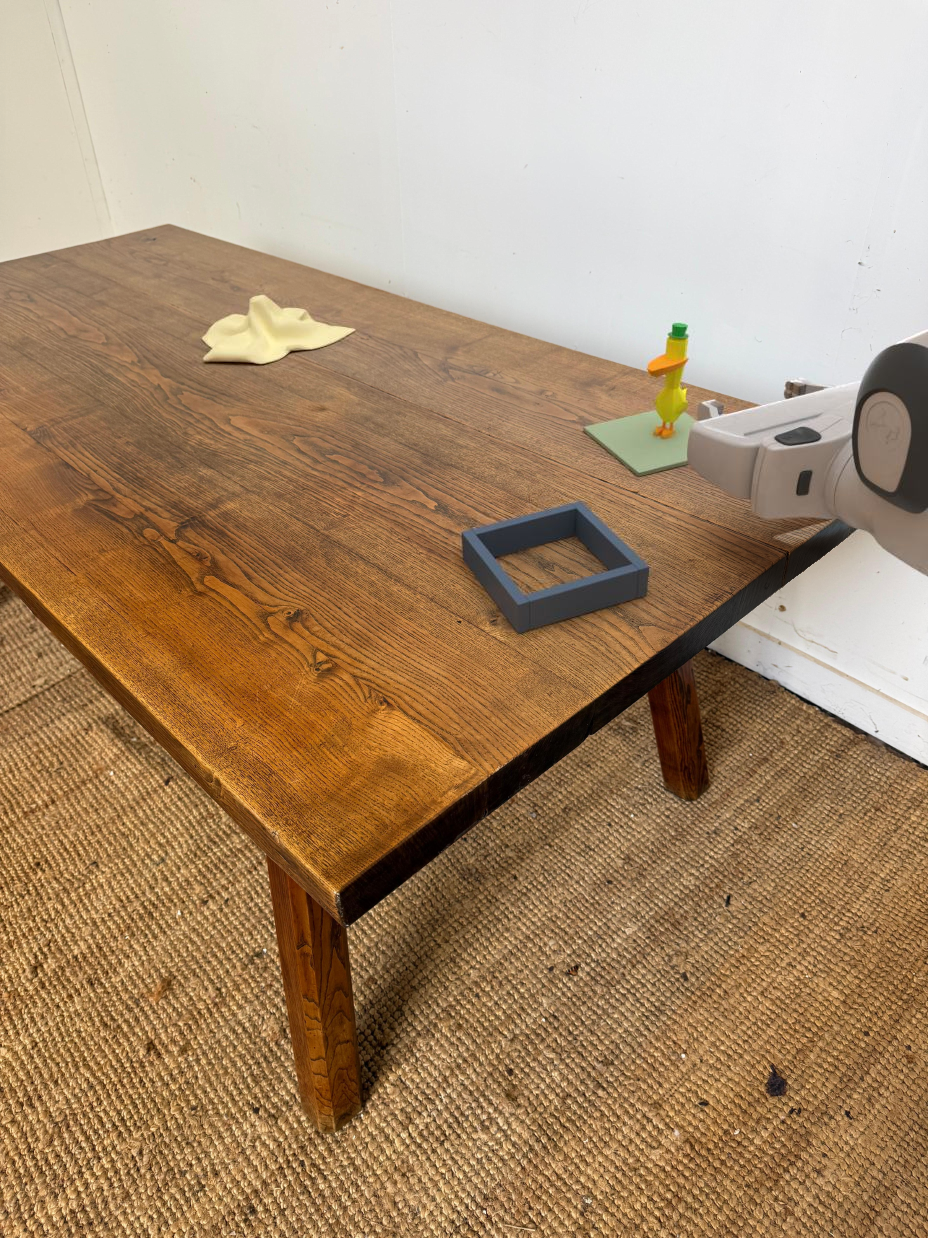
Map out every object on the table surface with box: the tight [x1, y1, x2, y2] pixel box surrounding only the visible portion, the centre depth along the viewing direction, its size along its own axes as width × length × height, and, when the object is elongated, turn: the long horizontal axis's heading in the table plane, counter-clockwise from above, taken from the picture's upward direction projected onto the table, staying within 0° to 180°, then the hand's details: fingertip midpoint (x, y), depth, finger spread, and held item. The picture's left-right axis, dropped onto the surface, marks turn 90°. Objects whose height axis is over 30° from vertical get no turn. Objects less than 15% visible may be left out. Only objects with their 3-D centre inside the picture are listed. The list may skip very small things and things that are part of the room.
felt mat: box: [582, 409, 699, 477], centre depth 96 cm, size 12×12×1 cm
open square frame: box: [460, 500, 650, 635], centre depth 76 cm, size 12×12×3 cm
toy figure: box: [646, 322, 690, 439], centre depth 93 cm, size 7×4×12 cm, turn 131°
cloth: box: [201, 294, 356, 365], centre depth 126 cm, size 22×19×6 cm
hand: (748, 397), depth 81 cm, fingers open, 8 cm apart
